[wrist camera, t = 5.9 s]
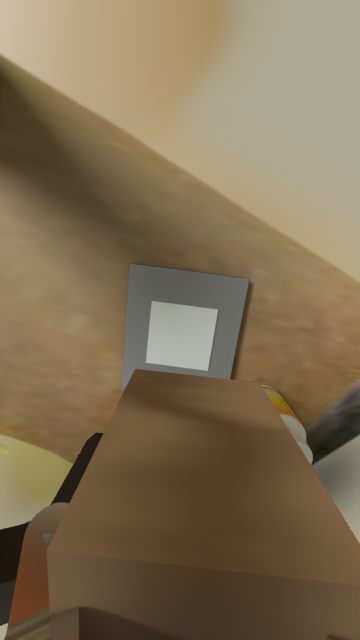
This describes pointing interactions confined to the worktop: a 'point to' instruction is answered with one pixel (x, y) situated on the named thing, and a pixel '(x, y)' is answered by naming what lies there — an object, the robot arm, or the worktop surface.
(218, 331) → the grey flat plate
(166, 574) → the tan wooden block
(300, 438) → the supplement bottle
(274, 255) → the worktop surface
